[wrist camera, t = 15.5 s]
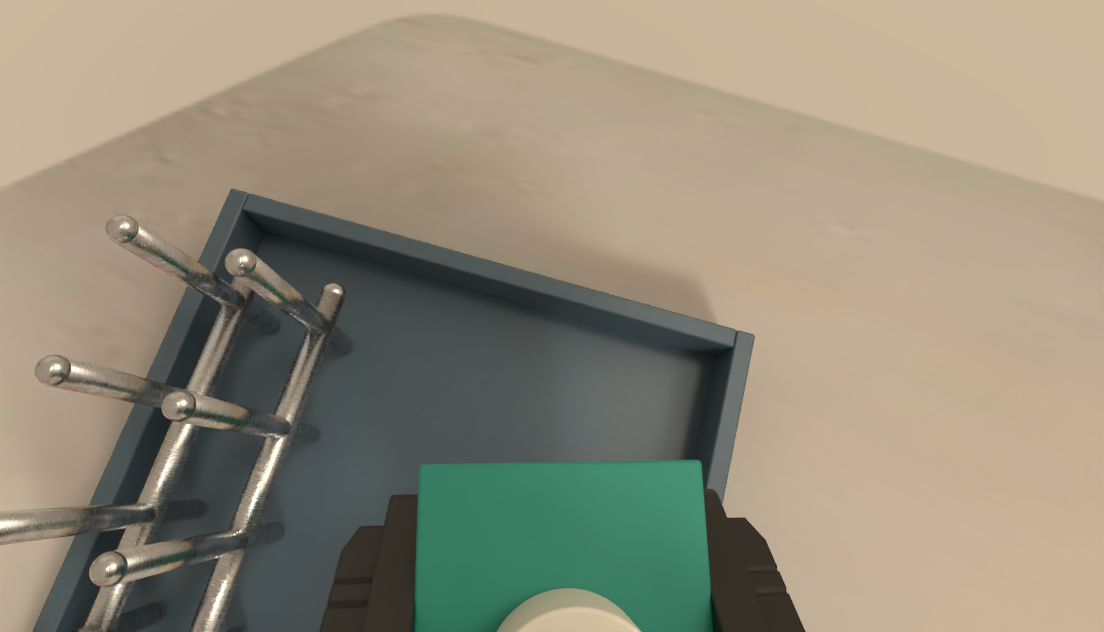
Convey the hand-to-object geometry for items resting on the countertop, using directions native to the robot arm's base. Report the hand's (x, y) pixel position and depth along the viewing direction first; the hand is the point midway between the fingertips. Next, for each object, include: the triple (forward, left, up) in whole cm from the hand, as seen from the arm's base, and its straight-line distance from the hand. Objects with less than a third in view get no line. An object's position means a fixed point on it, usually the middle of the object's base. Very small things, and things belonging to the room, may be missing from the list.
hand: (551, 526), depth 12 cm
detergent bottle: (-1, +2, -5) cm, 5 cm away
